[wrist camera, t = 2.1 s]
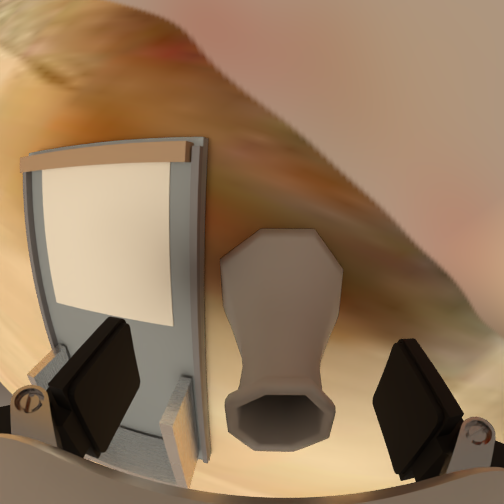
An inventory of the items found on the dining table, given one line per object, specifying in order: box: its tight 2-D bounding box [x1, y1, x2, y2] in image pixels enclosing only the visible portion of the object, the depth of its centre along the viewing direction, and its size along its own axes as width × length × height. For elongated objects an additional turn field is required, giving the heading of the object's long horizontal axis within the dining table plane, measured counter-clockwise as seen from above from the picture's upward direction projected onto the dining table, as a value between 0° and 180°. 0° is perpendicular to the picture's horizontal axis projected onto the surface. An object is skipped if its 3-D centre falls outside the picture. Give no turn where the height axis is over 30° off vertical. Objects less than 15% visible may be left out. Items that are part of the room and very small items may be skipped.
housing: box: [27, 344, 200, 489], centre depth 19 cm, size 12×18×4 cm, turn 177°
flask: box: [220, 229, 343, 452], centre depth 12 cm, size 7×7×10 cm
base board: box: [20, 137, 211, 463], centre depth 18 cm, size 13×26×2 cm, turn 177°
